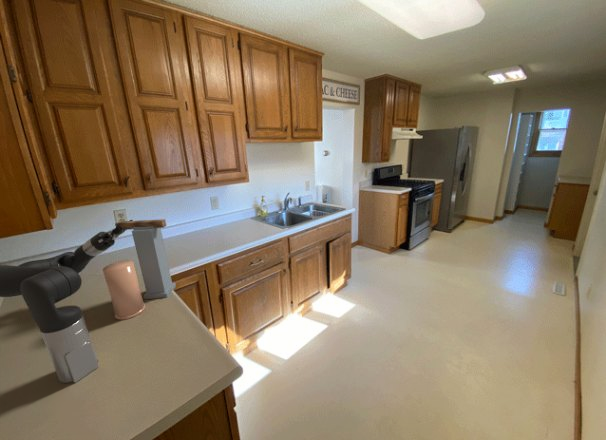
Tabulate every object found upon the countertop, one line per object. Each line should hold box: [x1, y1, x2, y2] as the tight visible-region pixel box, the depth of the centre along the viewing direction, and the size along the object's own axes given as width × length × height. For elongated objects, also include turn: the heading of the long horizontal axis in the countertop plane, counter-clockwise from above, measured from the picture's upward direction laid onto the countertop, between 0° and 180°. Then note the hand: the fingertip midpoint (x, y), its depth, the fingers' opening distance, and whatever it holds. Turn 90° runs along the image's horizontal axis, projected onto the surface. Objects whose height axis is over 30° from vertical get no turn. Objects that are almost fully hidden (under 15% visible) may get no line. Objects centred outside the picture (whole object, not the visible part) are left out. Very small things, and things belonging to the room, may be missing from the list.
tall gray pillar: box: [131, 226, 177, 300], centre depth 116 cm, size 10×10×33 cm
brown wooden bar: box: [114, 218, 167, 231], centre depth 111 cm, size 20×3×3 cm, turn 91°
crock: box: [102, 259, 146, 321], centre depth 103 cm, size 11×11×21 cm
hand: (127, 224), depth 110 cm, fingers open, 8 cm apart
